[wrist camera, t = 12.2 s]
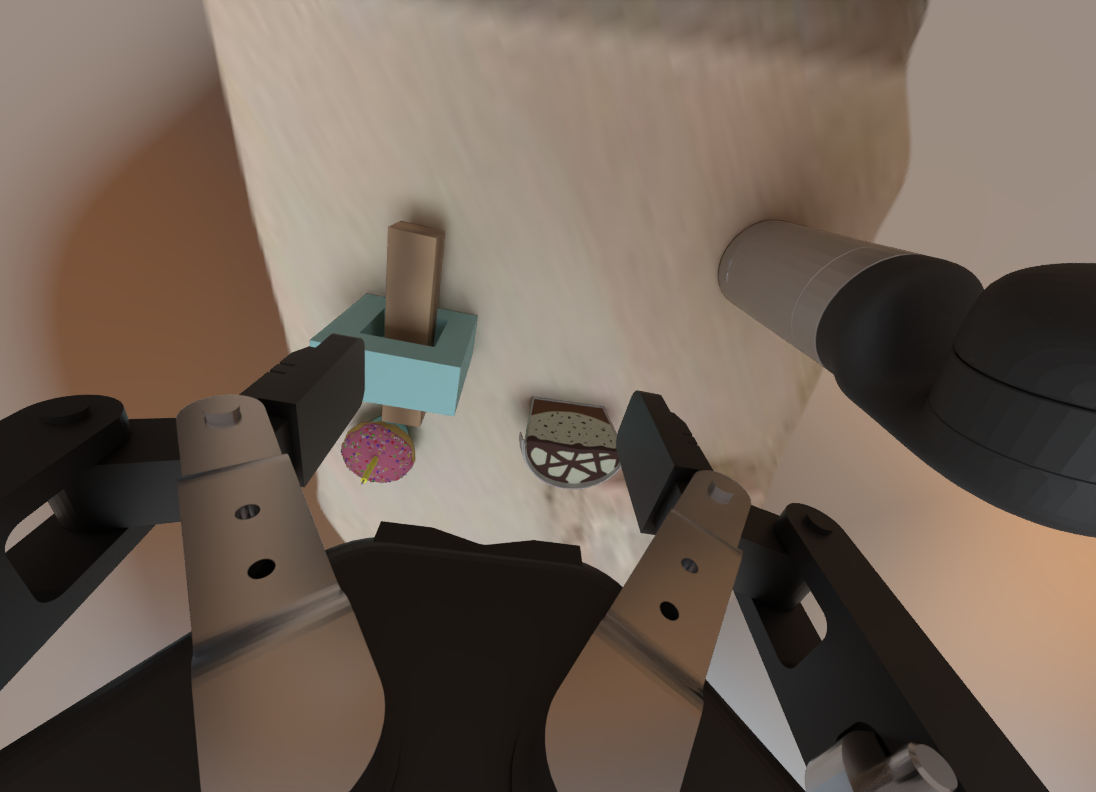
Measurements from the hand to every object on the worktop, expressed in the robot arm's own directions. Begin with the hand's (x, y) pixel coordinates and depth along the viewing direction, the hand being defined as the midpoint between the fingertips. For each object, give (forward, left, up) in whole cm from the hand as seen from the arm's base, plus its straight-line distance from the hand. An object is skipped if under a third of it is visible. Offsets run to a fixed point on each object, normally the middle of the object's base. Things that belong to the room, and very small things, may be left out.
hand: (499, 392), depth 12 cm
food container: (-10, +22, -33) cm, 41 cm away
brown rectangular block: (+9, +11, -30) cm, 33 cm away
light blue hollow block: (+9, +13, -33) cm, 36 cm away
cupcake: (+12, +28, -33) cm, 45 cm away
